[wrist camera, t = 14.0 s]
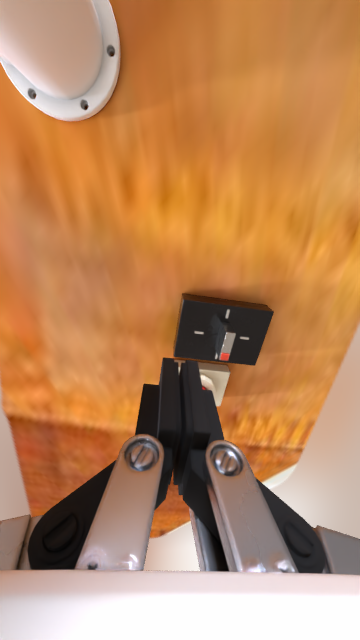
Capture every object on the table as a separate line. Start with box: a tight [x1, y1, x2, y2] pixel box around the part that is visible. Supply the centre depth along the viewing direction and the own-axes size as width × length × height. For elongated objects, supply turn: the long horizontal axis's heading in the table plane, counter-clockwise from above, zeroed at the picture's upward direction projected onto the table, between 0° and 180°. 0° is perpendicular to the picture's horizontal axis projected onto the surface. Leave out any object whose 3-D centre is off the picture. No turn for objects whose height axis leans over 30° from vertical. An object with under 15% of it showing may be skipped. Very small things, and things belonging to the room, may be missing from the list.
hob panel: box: [173, 294, 274, 365], centre depth 36 cm, size 14×10×3 cm
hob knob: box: [215, 322, 236, 361], centre depth 33 cm, size 5×1×4 cm, turn 171°
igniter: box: [174, 360, 230, 406], centre depth 40 cm, size 11×8×4 cm
